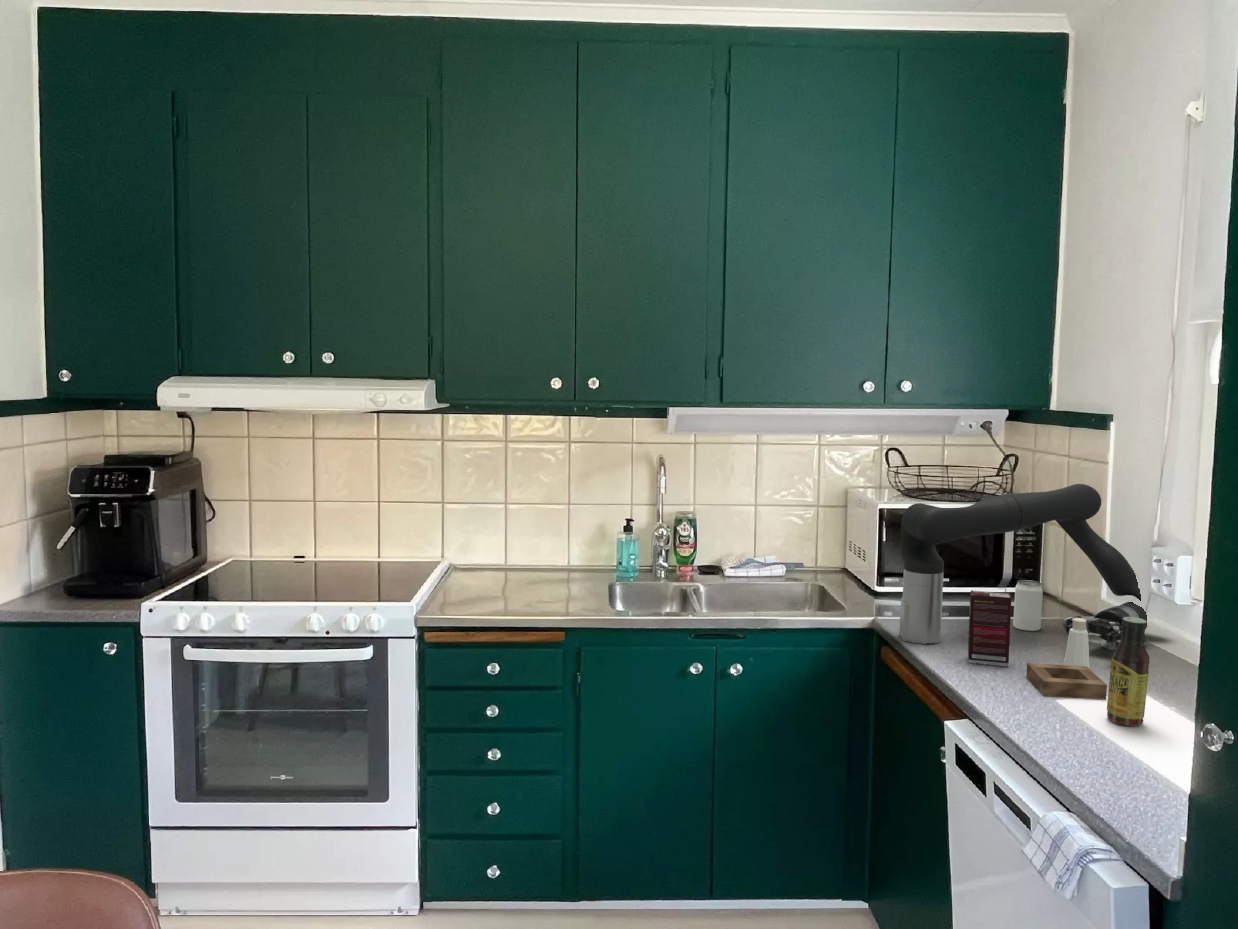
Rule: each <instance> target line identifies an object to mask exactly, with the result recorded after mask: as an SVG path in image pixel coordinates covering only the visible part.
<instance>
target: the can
mask: <svg viewBox="0 0 1238 929" xmlns="http://www.w3.org/2000/svg"><path fill="white" fill-rule="evenodd" d="M1043 591H1044V590H1043V587H1042V583H1041V582H1040V581H1036V580H1029V579H1028V580H1027V579H1021V580H1020V579H1019V580H1017V581H1016V585H1015V590H1014V602H1013V603H1014V605H1013V621H1012V622H1013V623H1012V624H1013V627H1014V628H1015V629H1016V630H1019V631H1025V632H1037V631H1040V629H1041V627H1042V612H1043V611H1042V610H1043Z"/></svg>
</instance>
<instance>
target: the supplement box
mask: <svg viewBox="0 0 1238 929" xmlns="http://www.w3.org/2000/svg"><path fill="white" fill-rule="evenodd" d="M969 597H970V598H969V614H968V615H969V618H968V642H967V644H968V645H967V659H968V662H969V661H971V662H975V663H974V664H976V663H986V664H992V665H991V666H996V665H997V667H1005V668H1006V667H1009V663H1010V643H1011V639H1010V638H1011V619H1012V618H1011V613H1012V596H1011V593H1009V592H997V591H986V590H985V591H983V590H972V589H971V590H970V594H969ZM986 664H985V665H986Z"/></svg>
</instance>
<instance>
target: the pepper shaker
mask: <svg viewBox="0 0 1238 929" xmlns="http://www.w3.org/2000/svg"><path fill="white" fill-rule="evenodd" d="M1072 618H1073V617H1072ZM1085 619H1086V618H1083V617H1082V618H1073V619H1072V621H1073V628H1071V629H1070V631H1069V635H1067V636H1068V637H1067V642H1066V647H1065V654H1064V660H1063V665H1071V666H1087V667H1088V668H1089V669H1090V651H1089V650H1090V648H1089V635H1088V632H1087V631H1088V629H1087V630H1085V629H1086V628H1085V627H1086V620H1085ZM1090 670H1091V669H1090Z"/></svg>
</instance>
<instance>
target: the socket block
mask: <svg viewBox="0 0 1238 929" xmlns="http://www.w3.org/2000/svg"><path fill="white" fill-rule="evenodd" d="M1025 677H1026V678H1027V679H1028V681H1030V682H1031V684H1032V685H1033V686H1034V687H1035V689H1036V690H1038V692H1039V693H1040V694H1041V695H1042V696H1044V697H1045V696H1047V697H1048V696H1049V697H1059V698H1060V697H1064V698H1079V699H1093V700H1096V699H1097V700H1107V691H1108V685H1107V683H1105V681H1103V680H1102V679H1101V678H1100V677H1099V676H1098V675H1097V674H1095V673H1094V671H1092V670H1091V669H1089V668H1088V667H1087V666H1071V665H1064V664H1052V663H1051V664H1049V663H1035V662H1033V663H1032V662H1031V663H1030V662H1026V675H1025Z"/></svg>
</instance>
